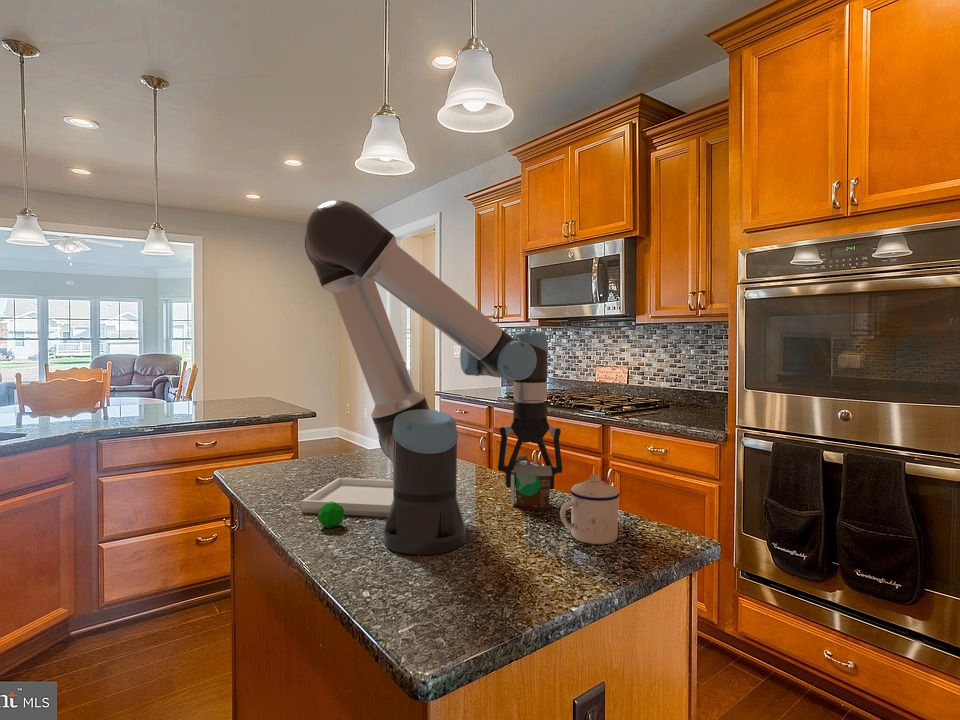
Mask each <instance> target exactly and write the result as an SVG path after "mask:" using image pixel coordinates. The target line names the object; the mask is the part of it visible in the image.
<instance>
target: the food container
mask: <svg viewBox="0 0 960 720" xmlns="http://www.w3.org/2000/svg"><path fill="white" fill-rule="evenodd" d="M512 472H514V473H515V502H516V506H518V507H519V508H520V509H523V508H524V509H523V510H529V511H549V509H550V508H549V507H550V492H551V491H550V490H551V489H550V478H551V476H552V469H551V466H546V465H542V464H541V463H540V462H537V461H532V460H531V459H528V455H526V454H525V455H521V456H517V458H516V461H515V463H514V466H513V468H512Z"/></svg>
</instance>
